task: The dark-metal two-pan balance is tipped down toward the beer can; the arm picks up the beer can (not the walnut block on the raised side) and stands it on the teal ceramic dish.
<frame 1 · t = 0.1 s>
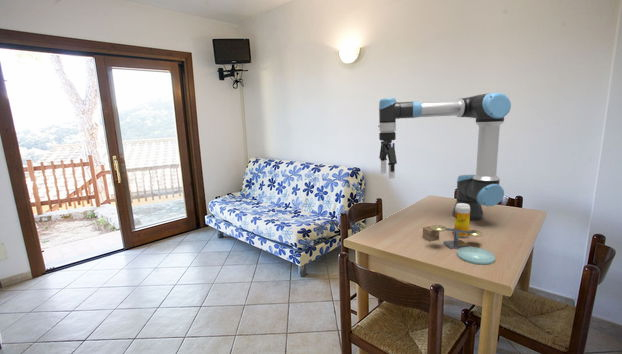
hand: (387, 175, 143), 28 cm above the table, fingers open, 13 cm apart
balance: (455, 245, 126), on the table
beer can: (461, 235, 136), on the table
walnut block: (430, 238, 135), on the table
dish: (475, 256, 116), on the table
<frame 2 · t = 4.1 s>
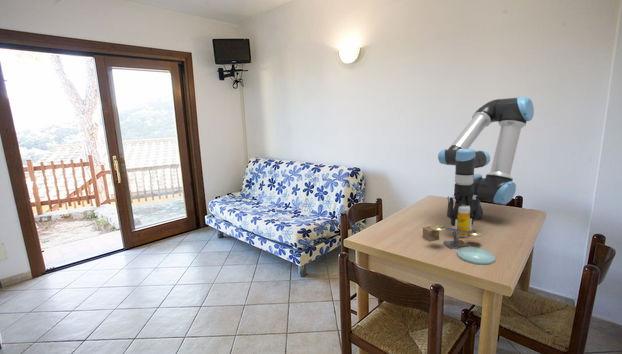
hand: (461, 231, 136), 2 cm above the table, fingers closed on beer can, 6 cm apart
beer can: (461, 235, 136), on the table, touching gripper
everything else where it was.
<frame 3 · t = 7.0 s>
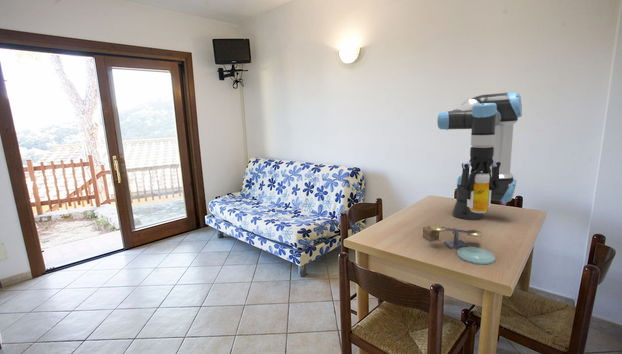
hand: (478, 206, 112), 21 cm above the table, fingers closed on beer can, 6 cm apart
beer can: (478, 211, 112), point 19 cm above the table, touching gripper
everything else where it was.
when the fingers open (4 cm above the table, at t = 10.3 s): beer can drops 1 cm, resting on dish.
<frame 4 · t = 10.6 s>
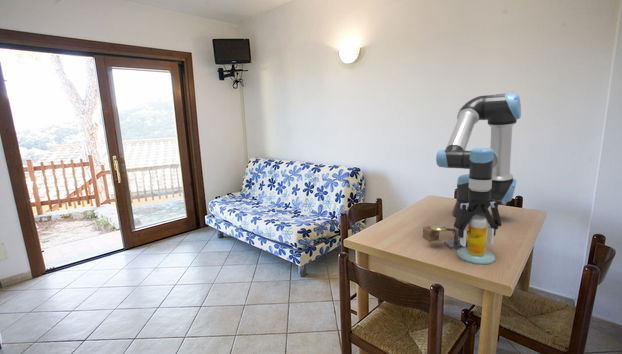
hand: (476, 244, 115), 5 cm above the table, fingers open, 10 cm apart
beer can: (475, 253, 115), point 1 cm above the table, touching dish
everything else where it was.
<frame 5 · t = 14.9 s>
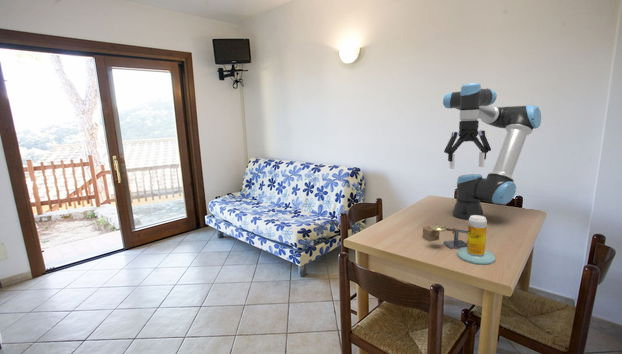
hand: (466, 167, 132), 32 cm above the table, fingers open, 13 cm apart
nothing on the table moved.
at the end: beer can 0.1 cm from the dish (horizontally); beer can inside the target area on the dish (0.1 cm from its centre), point 1.2 cm above the dish's base; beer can tilted 0° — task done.
